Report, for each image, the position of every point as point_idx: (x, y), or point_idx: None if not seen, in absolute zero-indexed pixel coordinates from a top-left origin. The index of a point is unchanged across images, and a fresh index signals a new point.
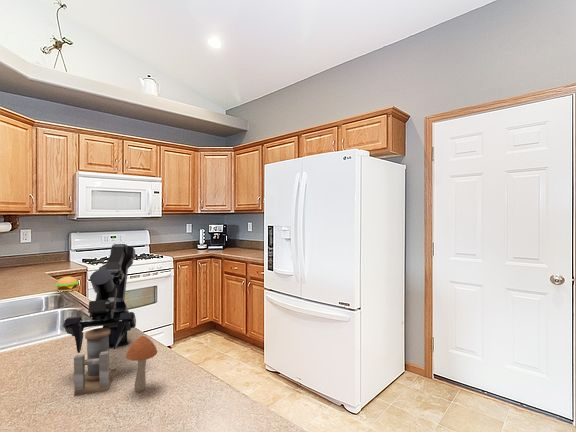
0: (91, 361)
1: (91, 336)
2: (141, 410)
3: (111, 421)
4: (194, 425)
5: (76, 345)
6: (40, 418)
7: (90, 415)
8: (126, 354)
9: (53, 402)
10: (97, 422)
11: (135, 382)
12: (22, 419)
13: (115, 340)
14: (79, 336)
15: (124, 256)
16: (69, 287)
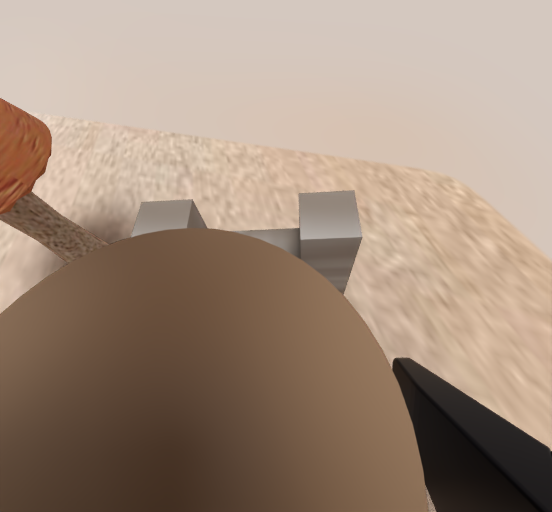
0: (250, 231)
1: (237, 239)
2: (125, 173)
3: (193, 151)
4: (46, 118)
5: (461, 392)
6: (377, 190)
7: (244, 178)
8: (36, 146)
9: (388, 263)
10: (223, 153)
11: (104, 244)
12: (430, 196)
13: None
14: (543, 505)
15: None
16: None
